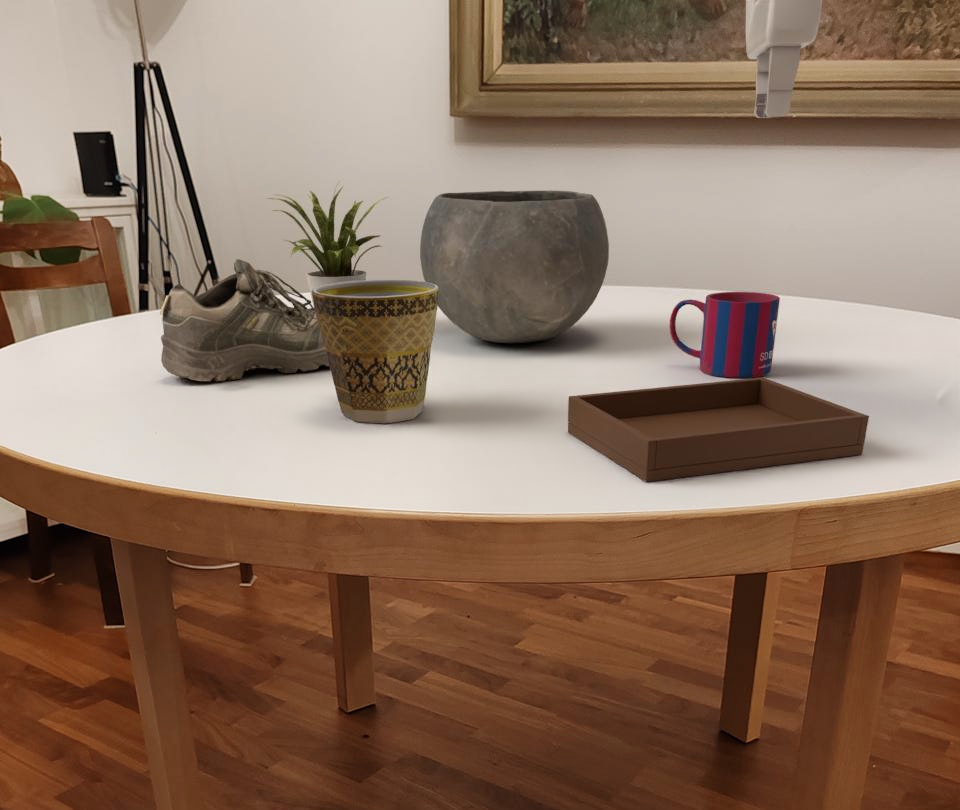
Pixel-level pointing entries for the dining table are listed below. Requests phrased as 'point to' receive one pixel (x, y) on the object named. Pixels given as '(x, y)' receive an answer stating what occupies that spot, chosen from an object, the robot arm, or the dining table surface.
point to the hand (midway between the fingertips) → (770, 117)
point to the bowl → (515, 261)
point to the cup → (734, 333)
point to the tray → (714, 427)
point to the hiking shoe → (239, 329)
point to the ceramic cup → (378, 345)
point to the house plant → (331, 243)
